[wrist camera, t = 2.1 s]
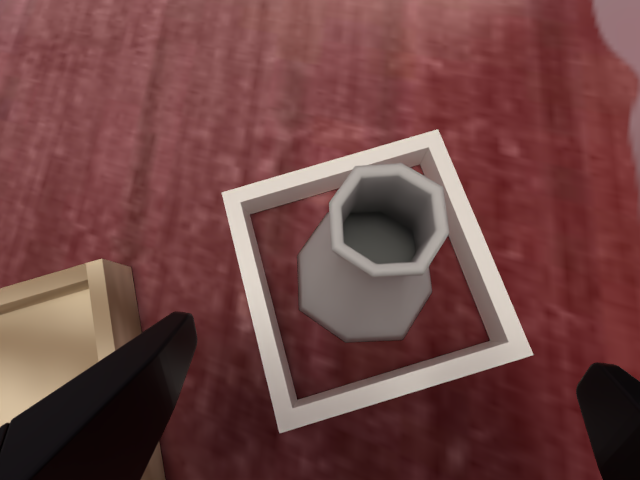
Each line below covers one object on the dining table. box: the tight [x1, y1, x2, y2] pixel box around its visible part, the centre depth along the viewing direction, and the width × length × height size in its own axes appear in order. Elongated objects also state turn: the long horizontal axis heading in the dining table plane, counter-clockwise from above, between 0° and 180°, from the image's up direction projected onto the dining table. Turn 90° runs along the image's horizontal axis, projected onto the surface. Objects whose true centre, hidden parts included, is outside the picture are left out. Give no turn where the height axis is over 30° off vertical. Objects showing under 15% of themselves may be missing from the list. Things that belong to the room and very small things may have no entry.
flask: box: [297, 163, 449, 342], centre depth 14 cm, size 7×7×10 cm
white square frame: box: [222, 129, 533, 433], centre depth 18 cm, size 12×12×2 cm
